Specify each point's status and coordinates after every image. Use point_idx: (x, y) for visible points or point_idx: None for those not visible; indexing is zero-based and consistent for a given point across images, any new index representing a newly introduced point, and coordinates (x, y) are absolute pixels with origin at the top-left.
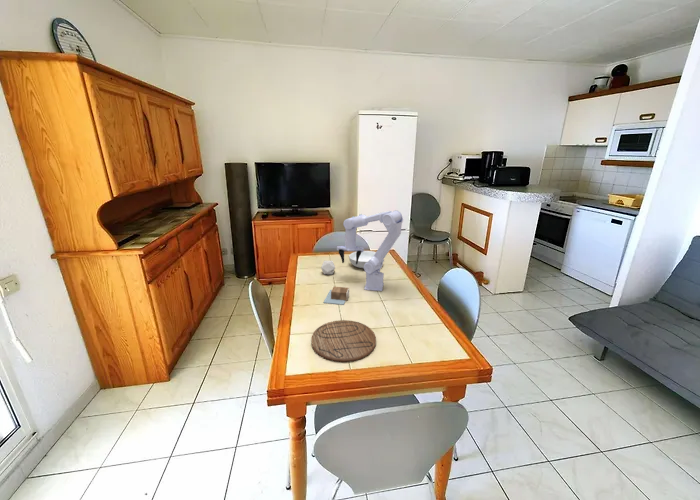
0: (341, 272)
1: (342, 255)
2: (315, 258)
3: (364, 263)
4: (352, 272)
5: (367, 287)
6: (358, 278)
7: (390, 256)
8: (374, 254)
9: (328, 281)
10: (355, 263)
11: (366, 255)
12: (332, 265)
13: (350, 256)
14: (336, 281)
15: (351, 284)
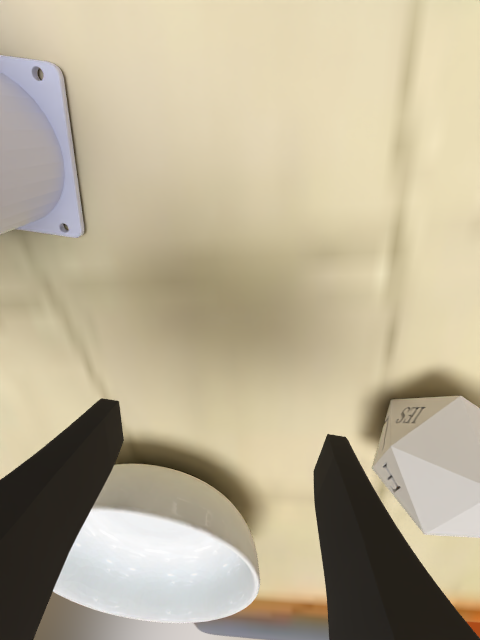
0: (314, 427)
1: (401, 622)
2: (467, 580)
3: (124, 493)
4: (231, 425)
5: (24, 94)
6: (173, 335)
7: None
8: (97, 585)
9: (454, 270)
10: (204, 503)
11: (154, 581)
12: (424, 469)
13: (249, 579)
14: (371, 273)
15: (221, 210)
